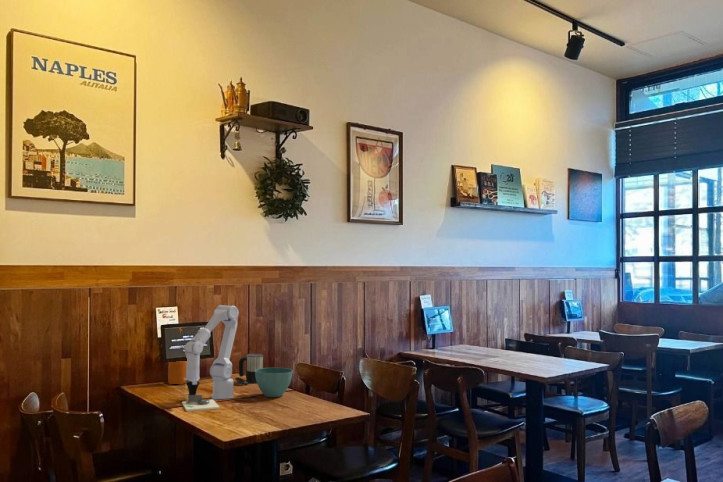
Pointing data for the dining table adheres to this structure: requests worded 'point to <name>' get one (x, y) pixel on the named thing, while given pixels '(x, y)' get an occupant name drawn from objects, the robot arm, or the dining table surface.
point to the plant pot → (273, 380)
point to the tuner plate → (200, 406)
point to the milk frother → (250, 368)
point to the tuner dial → (196, 399)
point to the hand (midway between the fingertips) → (192, 398)
